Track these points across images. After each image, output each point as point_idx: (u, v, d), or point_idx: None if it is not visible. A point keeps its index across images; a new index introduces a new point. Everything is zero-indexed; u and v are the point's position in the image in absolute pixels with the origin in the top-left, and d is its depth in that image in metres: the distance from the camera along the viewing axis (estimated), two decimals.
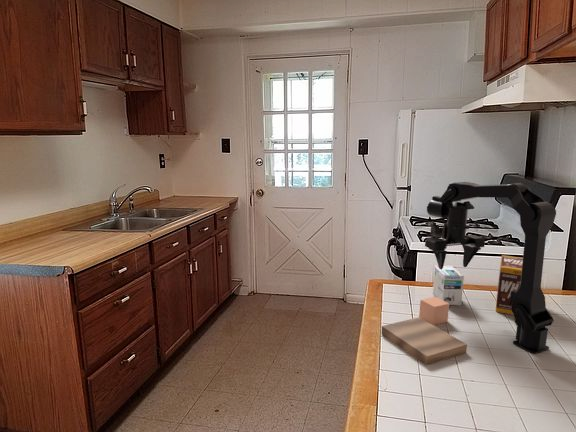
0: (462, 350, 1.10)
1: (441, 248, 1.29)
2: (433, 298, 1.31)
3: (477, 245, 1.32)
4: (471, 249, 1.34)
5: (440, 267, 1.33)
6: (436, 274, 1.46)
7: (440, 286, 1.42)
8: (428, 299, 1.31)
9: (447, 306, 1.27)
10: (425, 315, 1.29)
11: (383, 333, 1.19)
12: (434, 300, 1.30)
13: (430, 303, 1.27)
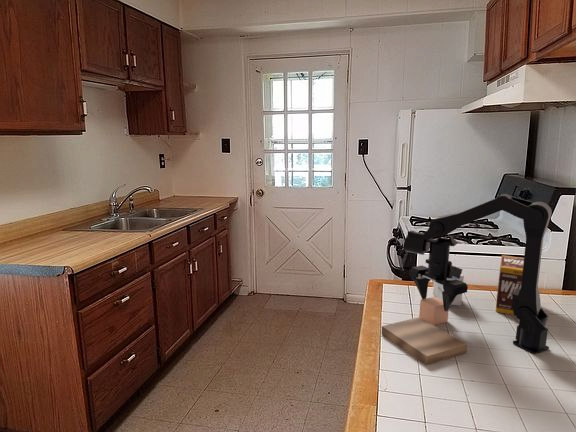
0: (462, 350, 1.10)
1: (412, 275, 1.33)
2: (433, 298, 1.31)
3: (444, 289, 1.21)
4: None
5: None
6: None
7: (440, 286, 1.42)
8: (429, 299, 1.31)
9: None
10: (425, 315, 1.29)
11: (383, 333, 1.19)
12: (434, 300, 1.30)
13: (430, 303, 1.27)
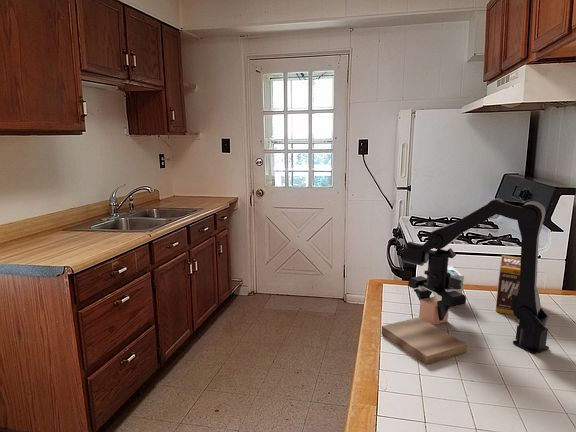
0: (462, 350, 1.10)
1: (411, 285, 1.33)
2: (433, 298, 1.31)
3: (443, 300, 1.22)
4: None
5: None
6: None
7: None
8: (429, 299, 1.31)
9: None
10: (425, 315, 1.29)
11: (383, 333, 1.19)
12: (434, 300, 1.30)
13: (430, 303, 1.27)
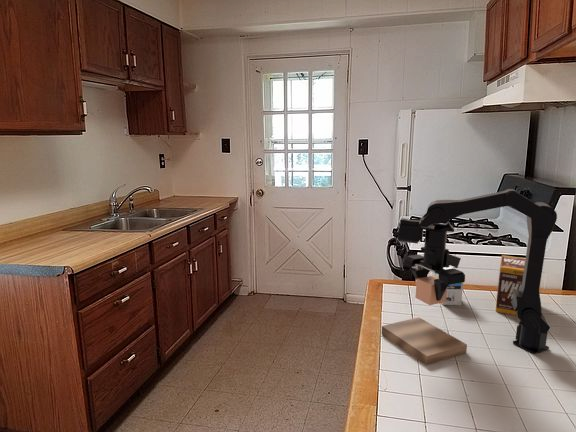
0: (462, 350, 1.10)
1: (407, 264, 1.25)
2: (430, 277, 1.22)
3: (440, 278, 1.13)
4: None
5: None
6: (436, 274, 1.46)
7: None
8: (426, 278, 1.22)
9: None
10: (422, 295, 1.20)
11: (383, 333, 1.19)
12: (431, 279, 1.21)
13: (427, 282, 1.19)
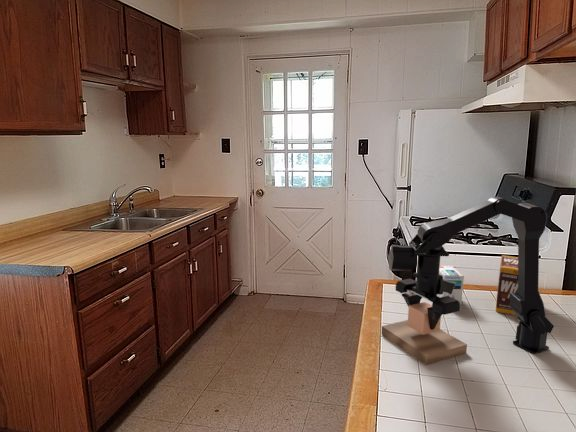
0: (462, 350, 1.10)
1: (399, 289, 1.18)
2: (423, 303, 1.16)
3: (434, 307, 1.06)
4: None
5: None
6: None
7: None
8: (418, 305, 1.15)
9: None
10: (414, 323, 1.13)
11: (383, 333, 1.19)
12: (424, 306, 1.14)
13: (420, 309, 1.12)
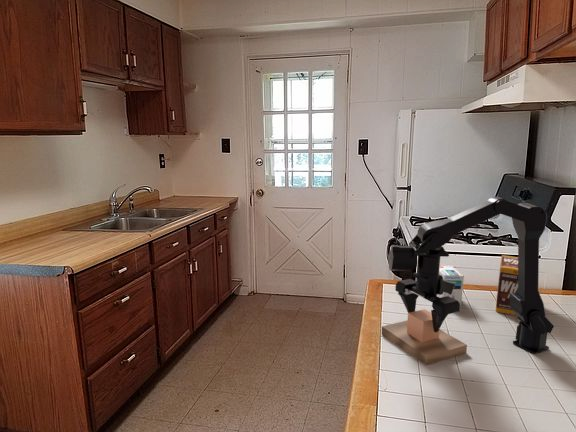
0: (462, 351, 1.10)
1: (399, 290, 1.18)
2: (423, 311, 1.16)
3: (434, 307, 1.06)
4: None
5: None
6: None
7: None
8: (417, 312, 1.15)
9: None
10: (413, 330, 1.13)
11: (383, 333, 1.19)
12: (423, 314, 1.14)
13: (419, 317, 1.12)
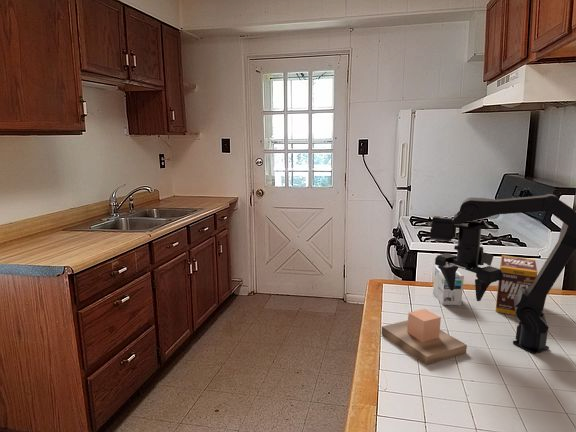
0: (462, 351, 1.10)
1: (439, 263, 1.22)
2: (423, 311, 1.16)
3: (478, 276, 1.11)
4: None
5: None
6: (436, 274, 1.46)
7: (440, 285, 1.42)
8: (418, 312, 1.16)
9: (438, 320, 1.12)
10: (414, 330, 1.14)
11: (383, 333, 1.19)
12: (424, 313, 1.14)
13: (419, 317, 1.12)
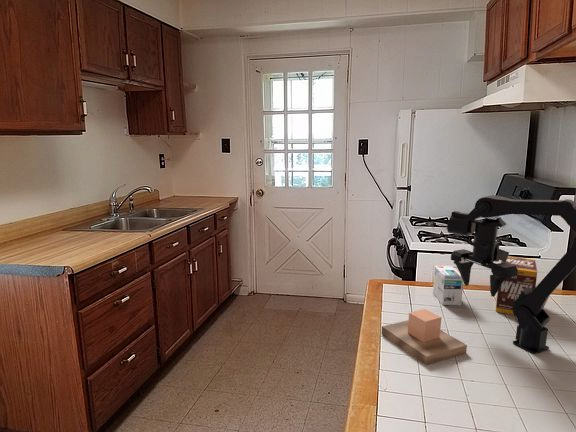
0: (462, 351, 1.10)
1: (454, 259, 1.25)
2: (423, 311, 1.16)
3: (493, 272, 1.14)
4: None
5: None
6: (436, 274, 1.46)
7: (440, 286, 1.42)
8: (418, 312, 1.15)
9: (439, 320, 1.12)
10: (415, 330, 1.13)
11: (383, 333, 1.19)
12: (424, 313, 1.14)
13: (420, 317, 1.12)
